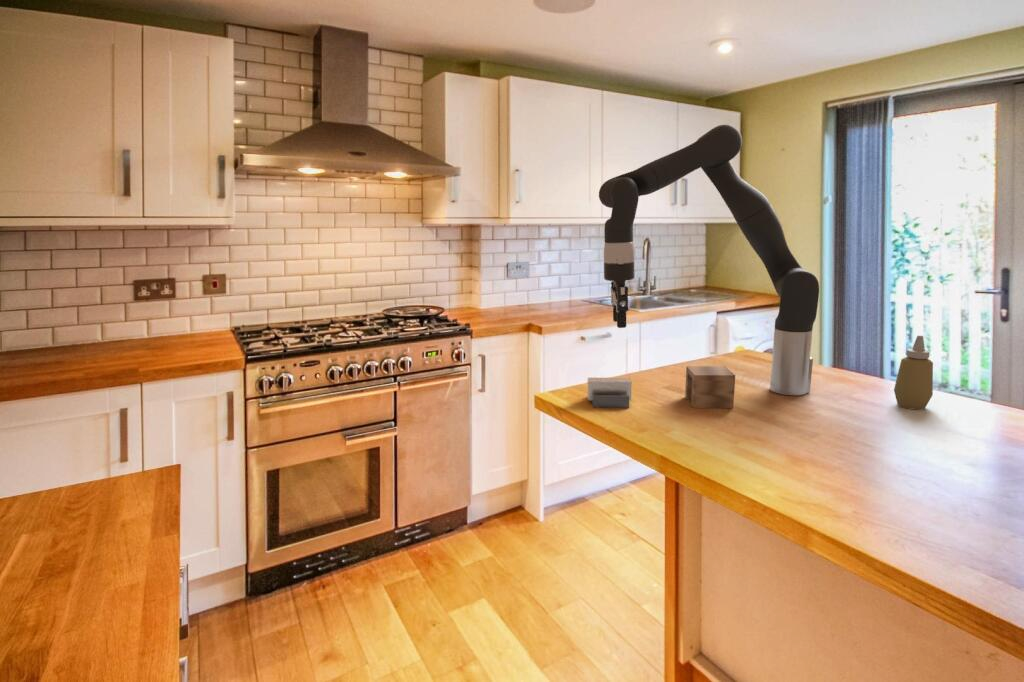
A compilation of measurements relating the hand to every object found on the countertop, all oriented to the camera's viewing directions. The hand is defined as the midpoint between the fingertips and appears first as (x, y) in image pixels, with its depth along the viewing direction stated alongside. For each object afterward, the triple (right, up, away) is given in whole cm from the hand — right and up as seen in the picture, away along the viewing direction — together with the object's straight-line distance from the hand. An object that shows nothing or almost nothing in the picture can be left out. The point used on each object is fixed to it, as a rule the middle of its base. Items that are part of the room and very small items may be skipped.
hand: (619, 324), depth 155 cm
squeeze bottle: (+72, -21, -3) cm, 75 cm away
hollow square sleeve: (+23, -20, +2) cm, 31 cm away
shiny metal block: (-2, -19, +4) cm, 20 cm away
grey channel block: (-2, -20, +4) cm, 21 cm away
